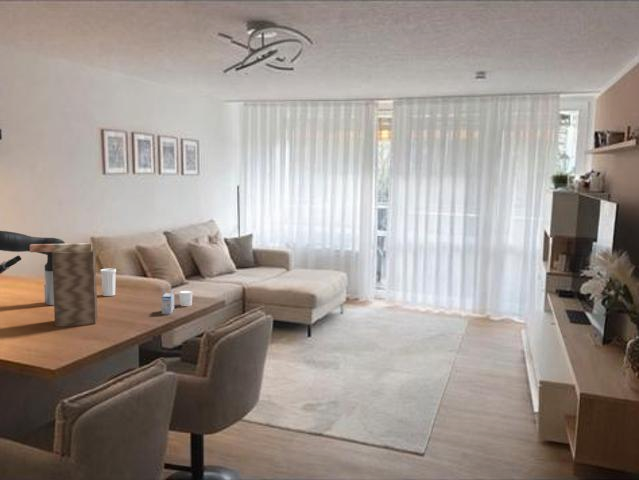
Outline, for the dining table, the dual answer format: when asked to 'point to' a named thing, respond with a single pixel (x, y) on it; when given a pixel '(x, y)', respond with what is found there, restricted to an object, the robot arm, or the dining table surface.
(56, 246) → the wooden block
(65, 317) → the walnut pillar
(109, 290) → the cup
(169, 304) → the medicine box
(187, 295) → the white tub
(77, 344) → the dining table surface
